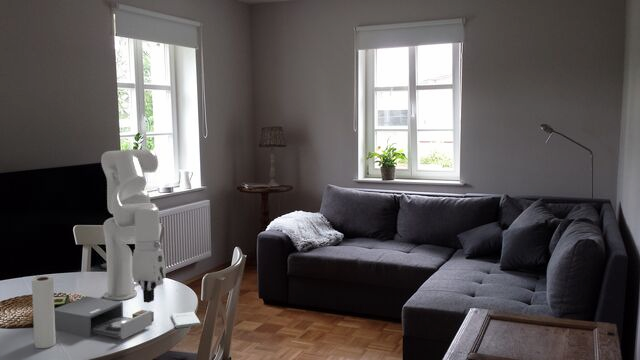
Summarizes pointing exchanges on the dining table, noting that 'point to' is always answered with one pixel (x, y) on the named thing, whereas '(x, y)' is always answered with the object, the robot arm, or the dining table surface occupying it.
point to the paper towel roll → (43, 311)
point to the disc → (117, 323)
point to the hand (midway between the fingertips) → (148, 301)
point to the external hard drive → (185, 319)
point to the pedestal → (142, 313)
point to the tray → (123, 326)
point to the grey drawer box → (85, 315)
